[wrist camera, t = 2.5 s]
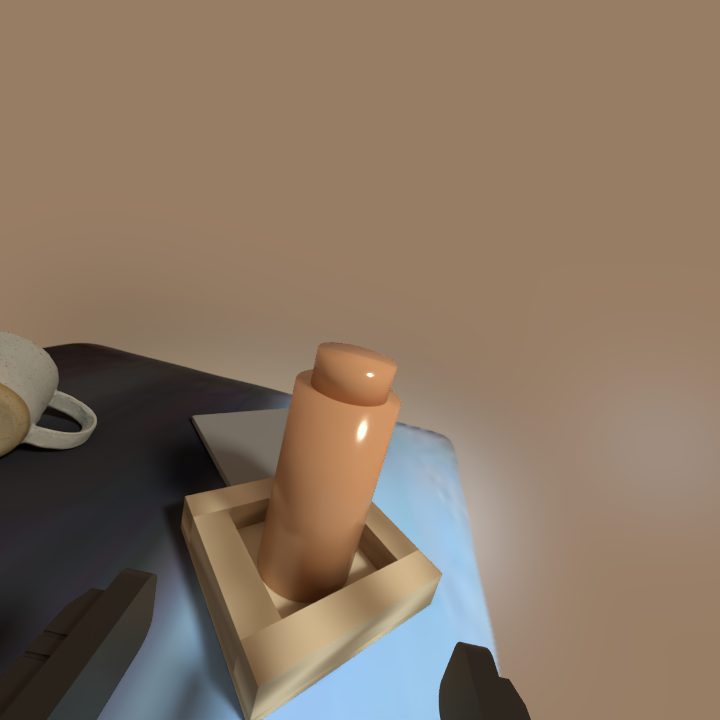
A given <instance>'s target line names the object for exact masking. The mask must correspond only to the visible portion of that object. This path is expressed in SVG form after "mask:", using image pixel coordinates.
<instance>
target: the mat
mask: <svg viewBox="0 0 720 720" xmlns="http://www.w3.org/2000/svg"><path fill="white" fill-rule="evenodd" d="M288 413H289V408H285V409H272V410H259V411H247V412H234V413H221V414H208V415H195V416H192V423H193V424H194V426H195V428H196V430H197V432H198V434H199V436H200V438H201V439H202V441H203V443H204V445H205V447H206V449H207V451H208V452H209V454H210V456H211V458H212V460H213V462H214V464H215V466H216V467H217V469H218V471H219V473H220V475H221V477H222V479H223V481H224V482H225V484H226V486H227V487H230V486H235V485H240V484H244V483H249V482H254V481H258V480H263V479H268V478H272V477H275V473H276V468H277V463H278V459H279V454H280V450H281V445H282V440H283V436H284V431H285V427H286V422H287V417H288Z"/></svg>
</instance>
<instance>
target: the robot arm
mask: <svg viewBox="0 0 720 720" xmlns="http://www.w3.org/2000/svg"><path fill="white" fill-rule="evenodd" d="M156 583H157V576H156V574H152V573H147V572H142V571H138V570H133V569H129V568H126V569H124V570H123V571H122V572H121V573H120V574H119V575H118V576H117V577H116V578H115V579H114V581H113V582H112V583H111V584H110V585H109V587H108V588H107V589H106V590H105V591H103V590H99V589H94V588H92V589H90V590H89V591H87V592H86V593H85V594H83V595H82V596H80V597H79V598H77V599H76V600H74V601H73V602H71V603H70V604H68V605H67V606H66V607H65V608H64V609H63V610H62V611H61V612H60V613H59V614H58V615H57V617H56V618H55V619H54V620H53V621H52V622H51V623H50V624H49V625H48V626H47V628H46V629H45V630H44V632H43V634H42V635H39V636H38V637H37V639H36V640H35V641H34V642H33V643H32V644H31V645H30V646H29V647H28V648H27V650H26V651H25V653H24V655H23V656H20V657H19V658H18V659H17V661H16V662H15V663H14V664H13V665H12V666H11V667H10V668H9V669H8V670H7V672H6V673H5V674H4V675H3V676H2V677H1V678H0V720H97V718H98V717H99V715H100V713H101V712H102V710H103V708H104V707H105V705H106V703H107V702H108V700H109V699H110V697H111V695H112V694H113V692H114V690H115V689H116V687H117V685H118V684H119V682H120V681H121V679H122V677H123V676H124V674H125V672H126V671H127V669H128V667H129V666H130V664H131V662H132V661H133V659H134V658H135V656H136V654H137V653H138V651H139V649H140V648H141V646H142V644H143V642H144V640H145V638H146V636H147V633H148V631H149V628H150V625H151V621H152V617H153V608H154V600H155V591H156ZM439 712H440V719H441V720H531V719H530V716H529V714H528V711H527V708H526V705H525V704H524V702H523V701H522V699H521V698H520V696H519V694H518V693H517V691H516V689H515V688H514V686H513V685H512V683H511V682H510V680H509V679H505V678H501V677H499V675H498V672H497V669H496V666H495V662H494V659H493V656H492V654H491V652H490V651H489V649H488V648H486V647H481V646H477V645H472V644H467V643H463V642H458V643H457V644H456V646H455V648H454V651H453V653H452V656H451V658H450V661H449V663H448V665H447V668H446V670H445V673H444V675H443V678H442V680H441V684H440V689H439Z"/></svg>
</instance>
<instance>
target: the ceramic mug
mask: <svg viewBox="0 0 720 720" xmlns="http://www.w3.org/2000/svg"><path fill="white" fill-rule="evenodd" d="M58 381H59V377H58V370H57V367H56V365H55V363H54V362H53V360H52V359H51V357H50V355H49V354H48V353H47V352H46V351H44V350H43V349H42V348H41V347H39V346H38V345H37V344H35V343H34V342H31V341H29V340H28V339H25V338H23V337H21V336H18V335H15V334H12V333H9V332H3V331H0V457H1V456H3V455H5V454H7V453H9V452H10V451H11V450H13V449H14V448H15V447H16V446H18V445H19V444H21V443H26V444H31V445H33V446H37V447H41V448H51V449H68V448H74V447H77V446H79V445H81V444H83V443H84V442H86V441H87V439H88V438H89V436H90V435H91V433H92V432H93V430H94V429H95V427H96V424H97V418H96V415H95V414H94V412H93V411H92V410H91V409H90V408H89V407H87V406H86V405H85V404H83V403H82V402H80V401H78V400H77V399H75V398H73V397H72V396H70V395H67V394H64V393H62V392H60V391H57V386H58ZM47 406H48V407H51V408H54V409H56V410H59V411H61V412H63V413H65V414H67V415H69V416H70V417H72V418H74V419H75V420H76V421H78V422H79V423H80V424H81V425H82V429H81V431H80V432H77V433H67V432H59V431H54V430H49V429H46V428H42V427H38V426H36V424H37V422H38V421H39V420H40V417H41V415H42V413H43V412H44V411H45V409H46V408H47Z"/></svg>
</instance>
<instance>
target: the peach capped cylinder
mask: <svg viewBox="0 0 720 720" xmlns="http://www.w3.org/2000/svg"><path fill="white" fill-rule="evenodd" d="M396 369H397V364H396V363H395V362H394V361H393V360H391V359H390V358H388V357H386V356H384V355H382V354H380V353H378V352H375V351H372V350H369V349H365V348H362V347H358V346H354V345H349V344H343V343H332V342H331V343H330V342H329V343H322V344H320V345H319V346H318V350H317V355H316V359H315V364H314V368H313V370H307V371H304V372H301V373H300V374H298V375H297V377H296V381H295V386H294V390H293V394H292V399H291V403H290V408H289V413H288V417H287V422H286V427H285V431H284V436H283V440H282V445H281V450H280V454H279V459H278V463H277V468H276V473H275V477H274V482H273V486H272V491H271V496H270V500H269V505H268V509H267V514H266V519H265V523H264V528H263V533H262V537H261V542H260V546H259V551H258V557H257V564H258V570H259V572H260V575H261V577H262V579H263V580H264V582H265V583H266V585H267V586H268V587H269V588H270V589H271V590H272V591H274V592H275V593H276V594H278V595H280V596H281V597H283V598H286V599H288V600H291V601H294V602H300V603H315V602H317V601H319V600H321V599H323V598H325V597H327V596H329V595H331V594H333V593H335V592H337V591H339V590H341V589H342V588H343V587H344V585H345V584H346V582H347V580H348V577H349V574H350V570H351V567H352V564H353V561H354V557H355V554H356V551H357V547H358V544H359V541H360V538H361V534H362V531H363V528H364V525H365V521H366V518H367V515H368V511H369V508H370V505H371V502H372V498H373V495H374V492H375V489H376V485H377V482H378V479H379V476H380V472H381V469H382V466H383V462H384V459H385V456H386V453H387V449H388V446H389V443H390V440H391V436H392V433H393V430H394V426H395V423H396V420H397V416H398V413H399V410H400V407H401V401H400V399H399V397H398V396H397V395H396V394H395V393H394V392H393V391H392V390H390V389H391V386H392V382H393V379H394V376H395V372H396Z"/></svg>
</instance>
